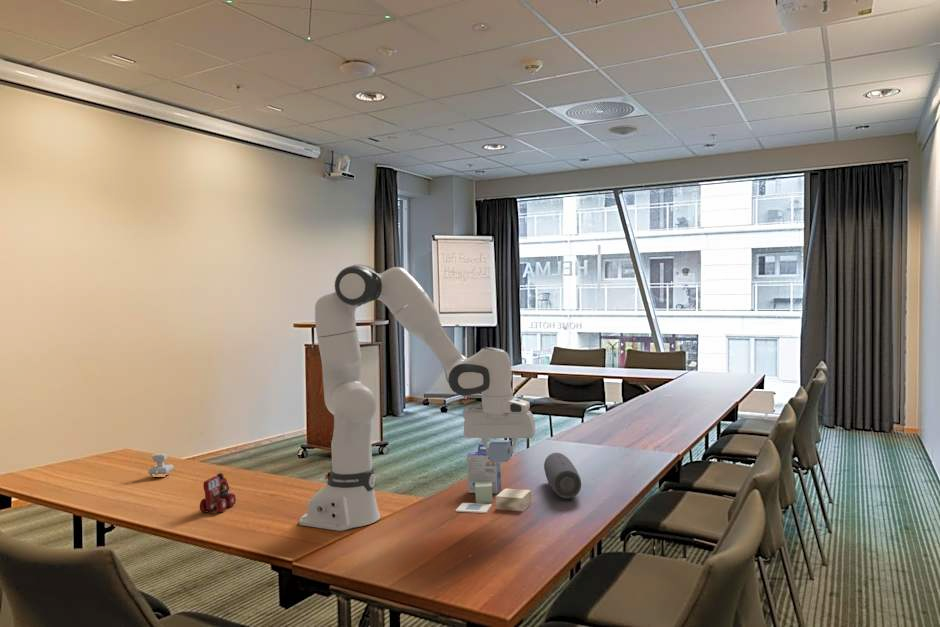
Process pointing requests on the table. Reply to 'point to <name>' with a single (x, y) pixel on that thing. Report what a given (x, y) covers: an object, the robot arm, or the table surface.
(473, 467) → the ink cartridge box
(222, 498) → the toy fire truck
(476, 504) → the swatch card
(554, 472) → the bluetooth speaker
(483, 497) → the green cube
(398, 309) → the robot arm
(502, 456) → the blue cube
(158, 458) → the stamp
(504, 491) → the birch base
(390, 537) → the table surface
